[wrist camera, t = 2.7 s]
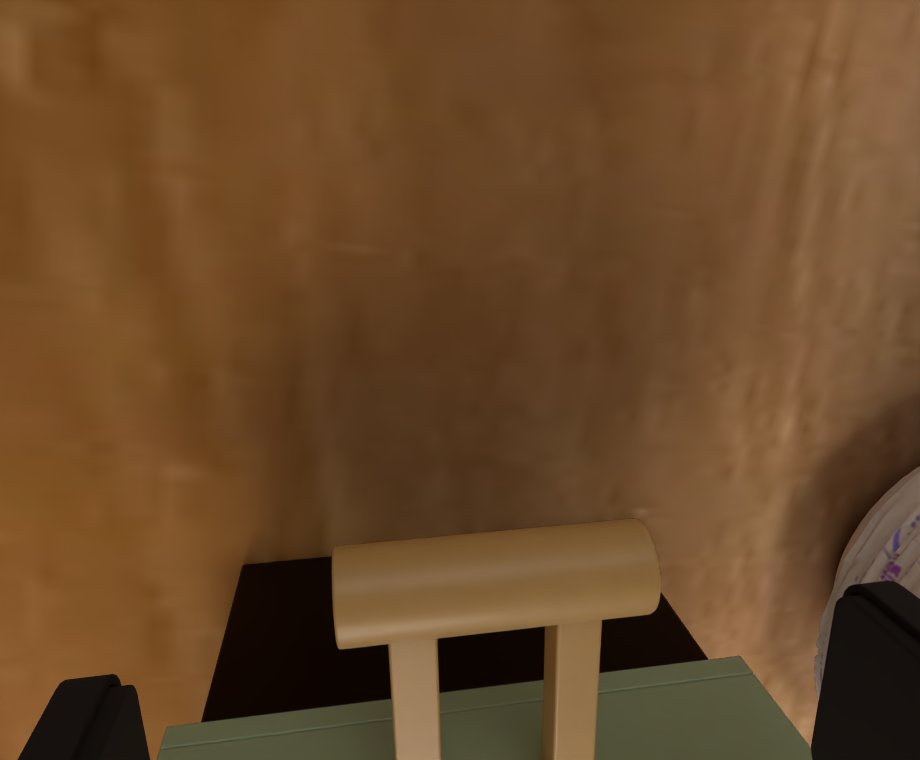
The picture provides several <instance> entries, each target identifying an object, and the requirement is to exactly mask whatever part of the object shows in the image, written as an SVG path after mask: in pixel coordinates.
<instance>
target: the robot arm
mask: <svg viewBox="0 0 920 760" xmlns="http://www.w3.org/2000/svg"><path fill="white" fill-rule="evenodd" d="M811 755H812V760H920V599H919V598H918V597H917V596H915V595H914V594H913V593H911V592H910V591H909V590H907V589H906V588H905V587H903V586H902V585H900V584H898V583H897V582H895V581H888V580H887V581H879V582H871V583H862V584H854V585H851V586H848V588H847V589H846V590H845V591H844V594H843V597H841V598H839V599H838V600H837V601H836V604H835V607H834V613H833V619H832V625H831V631H830V637H829V643H828V649H827V655H826V661H825V667H824V673H823V679H822V684H821V690H820V696H819V702H818V708H817V714H816V720H815V726H814V732H813V738H812V744H811ZM18 760H150V757H149V752H148V747H147V741H146V736H145V731H144V726H143V721H142V716H141V711H140V706H139V701H138V695H137V692H136V689H135V687H134V686H133V685H125V686H121V683H120V680H119V678H118V677H117V675H114V674H110V675H102V676H94V677H86V678H77V679H69V680H65V681H63V682H61V683H60V684H59V686H58V687H57V689H56V690H55V692H54V694H53V696H52V698H51V699H50V701H49V703H48V705H47V707H46V709H45V710H44V712H43V714H42V716H41V718H40V720H39V721H38V723H37V725H36V727H35V729H34V731H33V732H32V734H31V736H30V738H29V740H28V742H27V743H26V745H25V747H24V749H23V751H22V753H21V754H20V756H19V758H18Z"/></svg>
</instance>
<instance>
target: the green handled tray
mask: <svg viewBox="0 0 920 760" xmlns="http://www.w3.org/2000/svg"><path fill="white" fill-rule="evenodd" d="M660 594H661V576H660V567H659V561H658V556H657V552H656V549H655V546H654V543H653V540H652V538H651V535H650V533H649V531H648V530H647V528H646V527H645V525H644V524H643V523H642V522H641V521H640V520H638V519H634V518H631V519H620V520H609V521H599V522H588V523H577V524H566V525H556V526H545V527H534V528H524V529H513V530H502V531H491V532H481V533H470V534H459V535H449V536H438V537H427V538H416V539H406V540H395V541H384V542H374V543H363V544H352V545H342V546H335V547H334V548H333V551H332V599H333V616H334V629H335V638H336V644H337V647H338V649H350V648H359V647H367V646H376V645H385V644H388V652H389V669H390V685H391V699H387V700H379V701H371V702H363V703H355V704H347V705H339V706H331V707H323V708H315V709H307V710H299V711H291V712H283V713H275V714H267V715H259V716H250V717H242V718H234V719H226V720H218V721H210V722H202V723H194V724H186V725H178V726H170V727H167V728H166V731H165V734H164V737H163V740H162V743H161V746H160V752H159V754H158V757H157V760H812V755H811V747H810V746H809V745H808V743H807V742H806V741H805V740H804V738H803V737H802V736H801V734H800V733H799V732H798V730H797V729H796V728H795V727H794V725H793V724H792V723H791V721H790V720H789V719H788V718H787V716H786V715H785V714H784V712H783V711H782V710H781V709H780V707H779V706H778V705H777V703H776V702H775V701H774V699H773V698H772V697H771V696H770V694H769V693H768V692H767V690H766V689H765V688H764V687H763V685H762V684H761V683H760V681H759V680H758V679H757V678H756V676H755V675H753V672H752V670H751V669H750V668H749V667H748V665H747V664H746V663H745V661H744V660H743V659H742V658H741V657H740V656H734V657H726V658H718V659H710V660H702V661H694V662H686V663H678V664H670V665H662V666H653V667H645V668H637V669H629V670H621V671H613V672H605V673H599V667H600V648H601V630H602V620H606V619H614V618H623V617H632V616H641V615H649V614H651V613H653V612H654V611H655V610H656V609H657V607H658V604H659V600H660ZM544 626H545V649H544V680H541V681H533V682H524V683H516V684H508V685H500V686H492V687H484V688H476V689H468V690H460V691H452V692H444V693H439V667H438V638H447V637H456V636H464V635H473V634H482V633H491V632H500V631H508V630H517V629H526V628H535V627H544Z"/></svg>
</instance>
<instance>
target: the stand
mask: <svg viewBox="0 0 920 760" xmlns="http://www.w3.org/2000/svg"><path fill="white" fill-rule="evenodd" d="M544 649H545V626H544V627H535V628H526V629H517V630H508V631H500V632H491V633H482V634H473V635H464V636H456V637H447V638H438V667H439V693H444V692H452V691H460V690H468V689H476V688H484V687H492V686H500V685H508V684H516V683H524V682H533V681H541V680H544ZM702 660H708V658H707V657H706V655H705V654H704V652H703V651H702V650H701V648H700V647H699V645H698V644H697V643H696V641H695V640H694V638H693V637H692V635H691V634H690V633H689V631H688V630H687V628H686V627H685V626H684V624H683V623H682V621H681V620H680V618H679V617H678V616H677V614H676V613H675V611H674V610H673V609H672V607H671V606H670V604H669V603H668V601H667V600H666V599H665V597H664V596H663V594H662V593H661V594H660V600H659V604H658V607H657V609H656V610H655V611H654V612H653V613H651V614H649V615H641V616H632V617H623V618H614V619H606V620H602V630H601V648H600V667H599V673H605V672H613V671H621V670H629V669H637V668H645V667H653V666H662V665H670V664H678V663H686V662H694V661H702ZM387 699H391V685H390V669H389V652H388V644H385V645H376V646H367V647H359V648H350V649H338V647H337V644H336V638H335V629H334V616H333V599H332V557H322V558H312V559H301V560H291V561H280V562H270V563H259V564H249V565H243V566H242V570H241V573H240V577H239V581H238V585H237V588H236V592H235V596H234V600H233V604H232V607H231V611H230V615H229V619H228V622H227V626H226V630H225V634H224V638H223V641H222V645H221V649H220V653H219V656H218V660H217V664H216V668H215V672H214V675H213V679H212V683H211V687H210V690H209V694H208V698H207V702H206V705H205V709H204V713H203V717H202V721H201V723H202V722H210V721H218V720H226V719H234V718H242V717H250V716H259V715H267V714H275V713H283V712H291V711H299V710H307V709H315V708H323V707H331V706H339V705H347V704H355V703H363V702H371V701H379V700H387Z"/></svg>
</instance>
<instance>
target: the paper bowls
mask: <svg viewBox="0 0 920 760" xmlns="http://www.w3.org/2000/svg"><path fill="white" fill-rule="evenodd" d="M887 580H888V581H895V582H897V583H898V584H900V585H902V586H903V587H905V588H906V589H907V590H909V591H910V592H911V593H913V594H914V595H915V596H917V597H918V598H919V599H920V466H919V467H917V468H916V469H914V470H913V471H912V472H910V473H909V474H907V475H906V476H905V477H903V478H902V479H901V480H900V481H899V482H897V483H896V484H895V485H894V486H893V487H892V488H890V489H889V490H888V491H887V492H886V493H885V494H884V495H883V496H882V497H881V498H880V499H879V500H878V502H877V503H876V504H875V505H874V506H873V507H872V508H871V509H870V511H869V512H868V513H867V514H866V516H865V517H864V518H863V520H862V521H861V522H860V524H859V525H858V527H857V528H856V530H855V532H854V533H853V535H852V537H851V538H850V540H849V542H848V544H847V546H846V548H845V550H844V552H843V555H842V557H841V560H840V563H839V566H838V569H837V572H836V577H835V582H834V587H833V590H832V593H831V595H830V598H829V600H828V602H827V605H826V607H825V611H824V614H823V616H822V619H821V623H820V626H819V637H818V640H817V644H816V645H817V648H818V655H817V656H816V657H815V667H814V668H815V681H816V685H817V686H816V692H817V698H818V702H819V696H820V690H821V684H822V679H823V673H824V667H825V661H826V655H827V649H828V643H829V637H830V631H831V625H832V619H833V613H834V607H835V604H836V601H837V600H838V599H839V598H841V597H843V594H844V591H845V590H846V589H847V588H848V586H851V585H854V584H862V583H871V582H879V581H887Z"/></svg>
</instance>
